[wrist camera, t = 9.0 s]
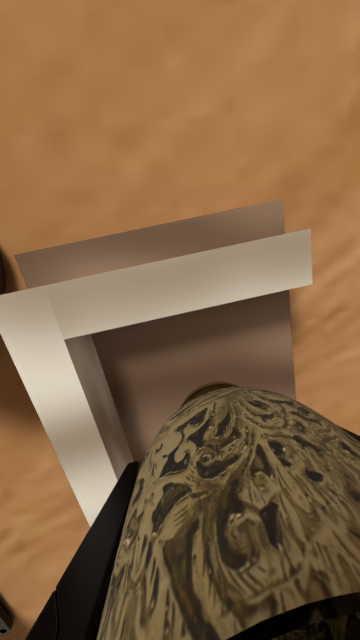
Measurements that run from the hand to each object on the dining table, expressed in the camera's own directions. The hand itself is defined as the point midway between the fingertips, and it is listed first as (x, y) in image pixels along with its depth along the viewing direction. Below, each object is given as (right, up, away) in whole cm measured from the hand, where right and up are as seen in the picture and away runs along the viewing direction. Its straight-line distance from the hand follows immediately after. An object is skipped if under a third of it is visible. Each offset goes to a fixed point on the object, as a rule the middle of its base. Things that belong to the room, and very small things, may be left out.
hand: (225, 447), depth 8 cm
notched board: (-1, +1, +5) cm, 5 cm away
